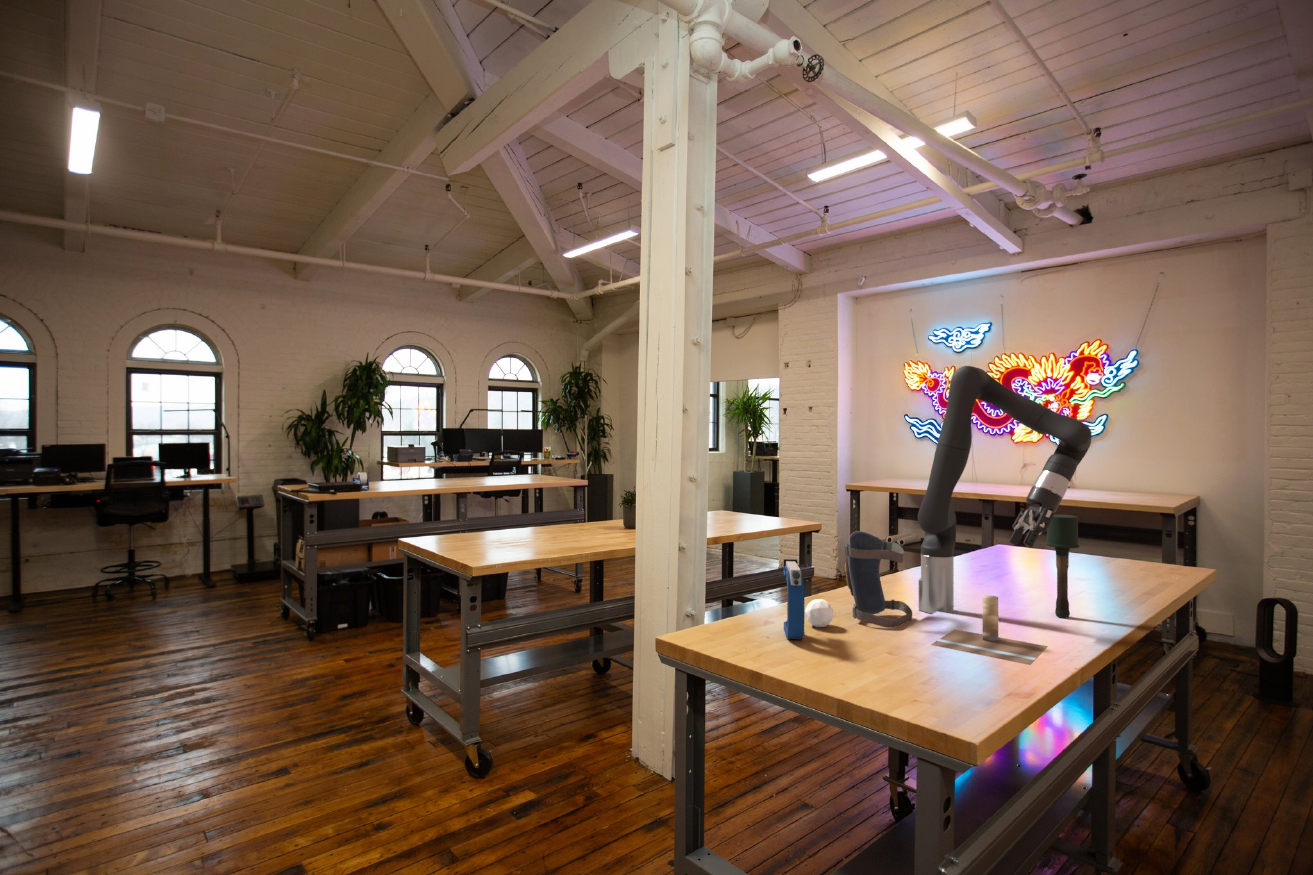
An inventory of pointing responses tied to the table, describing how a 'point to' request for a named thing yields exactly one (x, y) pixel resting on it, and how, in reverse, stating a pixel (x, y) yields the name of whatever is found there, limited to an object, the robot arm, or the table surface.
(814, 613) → the ball
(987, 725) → the table surface
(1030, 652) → the board
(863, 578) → the knee pad
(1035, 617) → the table surface
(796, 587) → the handheld scanner
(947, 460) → the robot arm
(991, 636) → the tan round-topped cylinder
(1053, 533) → the potato masher grenade
